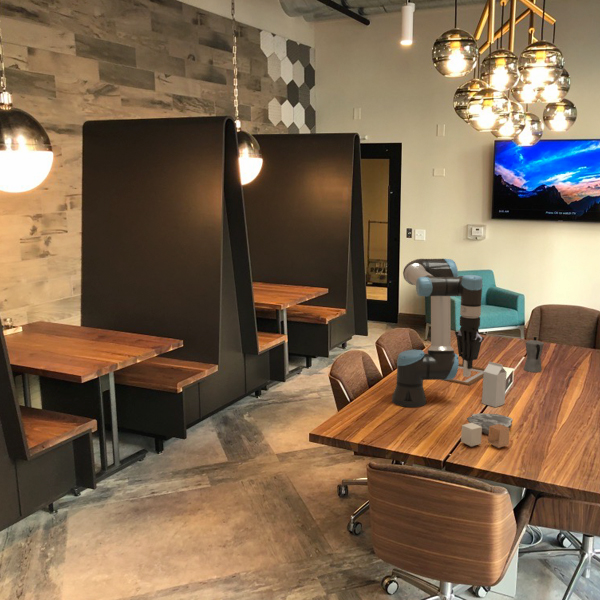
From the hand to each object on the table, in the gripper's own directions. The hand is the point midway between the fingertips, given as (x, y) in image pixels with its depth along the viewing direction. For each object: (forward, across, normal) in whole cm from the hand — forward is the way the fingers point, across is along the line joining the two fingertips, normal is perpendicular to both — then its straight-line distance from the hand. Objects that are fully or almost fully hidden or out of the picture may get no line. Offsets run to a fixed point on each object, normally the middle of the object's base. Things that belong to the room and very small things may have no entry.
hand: (466, 376), depth 256 cm
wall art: (+25, -69, +57) cm, 93 cm away
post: (+24, +8, -4) cm, 26 cm away
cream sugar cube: (+23, +8, -4) cm, 25 cm away
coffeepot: (+25, -48, +98) cm, 112 cm away
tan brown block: (+24, +14, +4) cm, 28 cm away
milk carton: (+25, -21, +39) cm, 51 cm away
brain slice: (+25, -2, +16) cm, 30 cm away
